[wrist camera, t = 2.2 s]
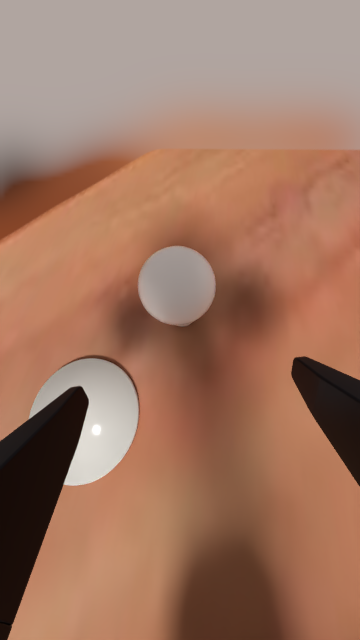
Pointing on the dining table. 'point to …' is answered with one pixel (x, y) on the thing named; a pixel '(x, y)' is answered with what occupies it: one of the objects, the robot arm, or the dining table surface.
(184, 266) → the lightbulb
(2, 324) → the dining table surface
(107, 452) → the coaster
